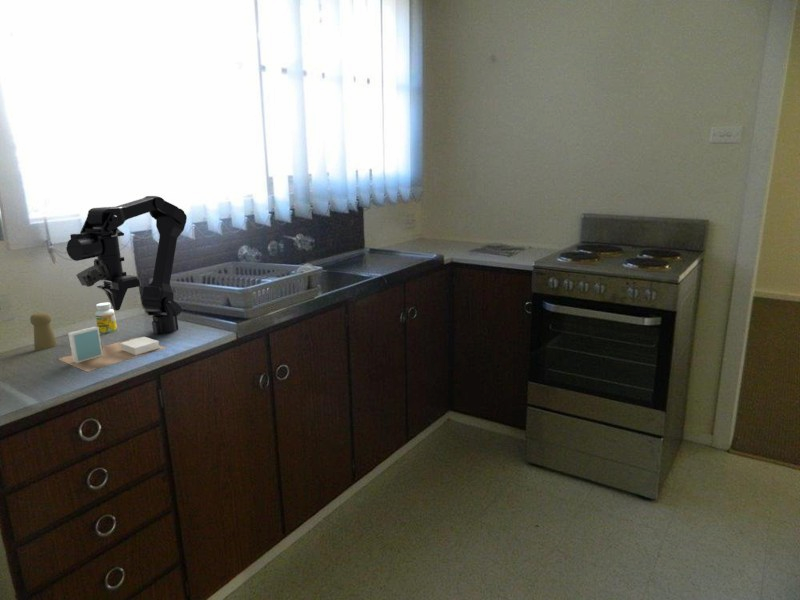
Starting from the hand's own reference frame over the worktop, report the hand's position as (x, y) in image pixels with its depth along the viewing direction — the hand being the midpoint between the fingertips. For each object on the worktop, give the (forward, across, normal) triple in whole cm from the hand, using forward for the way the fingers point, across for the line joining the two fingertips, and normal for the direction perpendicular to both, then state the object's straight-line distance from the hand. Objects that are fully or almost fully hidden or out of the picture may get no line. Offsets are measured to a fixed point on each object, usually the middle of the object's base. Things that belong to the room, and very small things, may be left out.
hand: (117, 310), depth 163 cm
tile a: (+10, +1, +2) cm, 10 cm away
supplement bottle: (+12, -22, +7) cm, 26 cm away
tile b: (+11, 0, -10) cm, 15 cm away
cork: (+12, -22, -11) cm, 28 cm away
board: (+12, +1, -4) cm, 13 cm away
